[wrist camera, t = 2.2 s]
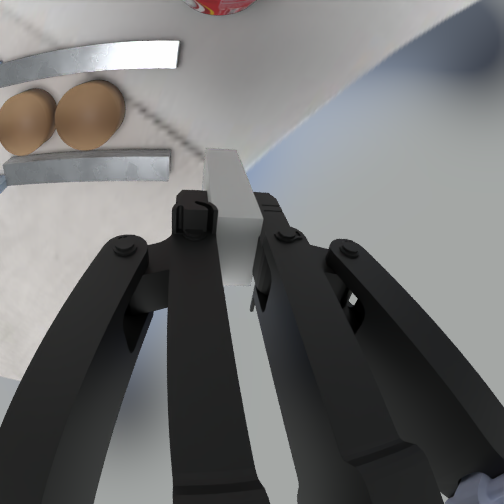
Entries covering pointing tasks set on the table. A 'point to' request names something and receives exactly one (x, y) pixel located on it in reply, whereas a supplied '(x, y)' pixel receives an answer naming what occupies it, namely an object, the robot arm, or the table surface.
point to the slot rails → (96, 161)
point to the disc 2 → (89, 114)
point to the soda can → (219, 6)
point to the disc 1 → (27, 121)
